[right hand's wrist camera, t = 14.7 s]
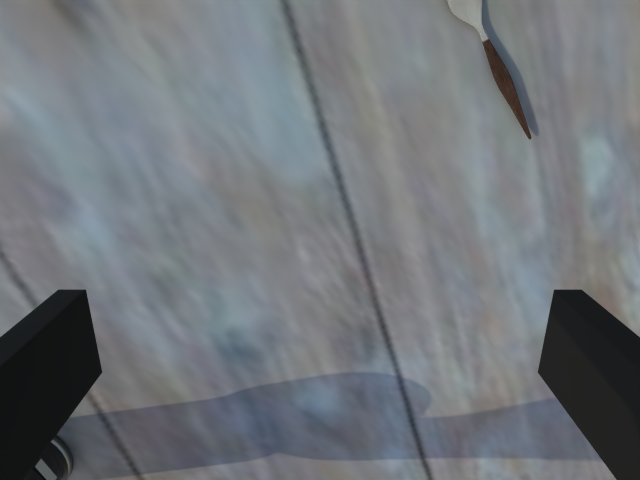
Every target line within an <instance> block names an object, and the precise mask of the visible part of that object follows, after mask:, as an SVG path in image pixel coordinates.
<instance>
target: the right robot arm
mask: <svg viewBox="0 0 640 480" xmlns="http://www.w3.org/2000/svg"><path fill="white" fill-rule="evenodd" d="M101 373H102V369H101V364H100V359H99V354H98V349H97V344H96V339H95V334H94V329H93V324H92V318H91V313H90V308H89V303H88V298H87V293H86V290H58V291H56V292H55V293H54V294H53V295H51V296H50V297H49V298H48V299H47V300H45V301H44V302H43V303H42V304H40V305H39V306H38V307H37V308H36V309H34V310H33V311H32V312H31V313H29V314H28V315H27V316H26V317H25V318H23V319H22V320H21V321H20V322H18V323H17V324H16V325H15V326H14V327H12V328H11V329H10V330H9V331H7V332H6V333H5V334H4V335H3V336H1V337H0V480H23V479H24V478H25V477H26V475H27V474H28V472H29V471H30V470H31V468H32V467H33V466H34V464H35V463H36V462H37V460H38V459H39V458H40V456H41V455H42V453H43V452H44V451H45V449H46V448H47V447H48V445H49V444H50V443H51V441H52V440H53V438H54V437H55V436H56V434H57V433H58V432H59V430H60V429H61V428H62V426H63V425H64V423H65V422H66V421H67V419H68V418H69V417H70V415H71V414H72V413H73V411H74V410H75V408H76V407H77V406H78V404H79V403H80V402H81V400H82V399H83V398H84V396H85V395H86V394H87V392H88V391H89V389H90V388H91V387H92V385H93V384H94V383H95V381H96V380H97V379H98V377H99V376H100V374H101ZM538 373H539V374H540V376H541V377H542V379H543V380H544V381H545V383H546V384H547V385H548V387H549V388H550V389H551V391H552V392H553V394H554V395H555V396H556V398H557V399H558V400H559V402H560V403H561V404H562V406H563V407H564V409H565V410H566V411H567V413H568V414H569V415H570V417H571V418H572V419H573V421H574V422H575V423H576V425H577V426H578V428H579V429H580V430H581V432H582V433H583V434H584V436H585V437H586V438H587V440H588V441H589V443H590V444H591V445H592V447H593V448H594V449H595V451H596V452H597V453H598V455H599V456H600V458H601V459H602V460H603V462H604V463H605V464H606V466H607V467H608V468H609V470H610V471H611V472H612V474H613V475H614V477H615V478H616V479H617V480H640V337H639V336H637V335H636V334H635V333H634V332H633V331H631V330H630V329H629V328H628V327H626V326H625V325H624V324H623V323H622V322H620V321H619V320H618V319H617V318H615V317H614V316H613V315H612V314H611V313H609V312H608V311H607V310H606V309H604V308H603V307H602V306H601V305H600V304H598V303H597V302H596V301H595V300H593V299H592V298H591V297H590V296H589V295H587V294H586V293H585V292H584V291H582V290H554V293H553V298H552V303H551V308H550V313H549V318H548V324H547V329H546V334H545V339H544V344H543V349H542V354H541V359H540V364H539V369H538Z"/></svg>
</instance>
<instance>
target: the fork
mask: <svg viewBox="0 0 640 480" xmlns="http://www.w3.org/2000/svg"><path fill="white" fill-rule="evenodd" d="M448 4H449V7H450V9H451V11H452V12H453V13H454V15H456V16H457V17H458V18H460V19H461V20H463V21H465V22H467V23H469V24H470V25H472V26H473V27H475V28H476V29H477V30H478V32H479V34H480V36H481V39H482V42H483V45H484V49H485V52H486V55H487V58H488V61H489V64H490V67H491V70H492V73H493V76H494V79H495V81H496V83H497V85H498V87H499V89H500V91H501V92H502V94H503V96H504V97H505V99H506V101H507V102H508V104H509V105H510V107H511V109H512V110H513V112H514V114H515V116H516V117H517V119H518V121H519V123H520V125H521V126H522V128H523V130H524V132H525V133H526V135H527V137H528V138H529V139H531V135H530V132H529V129H528V126H527V123H526V120H525V117H524V114H523V111H522V108H521V105H520V102H519V99H518V96H517V93H516V90H515V87H514V84H513V81H512V79H511V76H510V74H509V72H508V70H507V68H506V67H505V65H504V63H503V62H502V60H501V58H500V57H499V55H498V53H497V52H496V50H495V48H494V47H493V45H492V43H491V42H490V40H489V38H488V37H487V35H486V33H485V31H484V29H483V26H482V0H448Z"/></svg>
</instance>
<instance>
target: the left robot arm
mask: <svg viewBox="0 0 640 480" xmlns="http://www.w3.org/2000/svg"><path fill="white" fill-rule="evenodd" d="M72 467H73V461H72V457H71V454H70V452H69V450H68V449H67V447H66V446H65V445H64V443H63V442H62V441H61V440H59V439H58V438H57V437H56V436H55V437H54V438H53V440H52V441H51V443H50V444H49V445H48V447H47V448H46V449H45V451H44V452H43V453H42V455H41V456H40V458H39V459H38V460H37V462H36V463H35V464H34V466H33V467H32V468H31V470H30V471H29V472H28V474H27V475H26V477H25V478H24V479H23V480H67V479H68V477H69V476H70V474H71V472H72Z"/></svg>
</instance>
